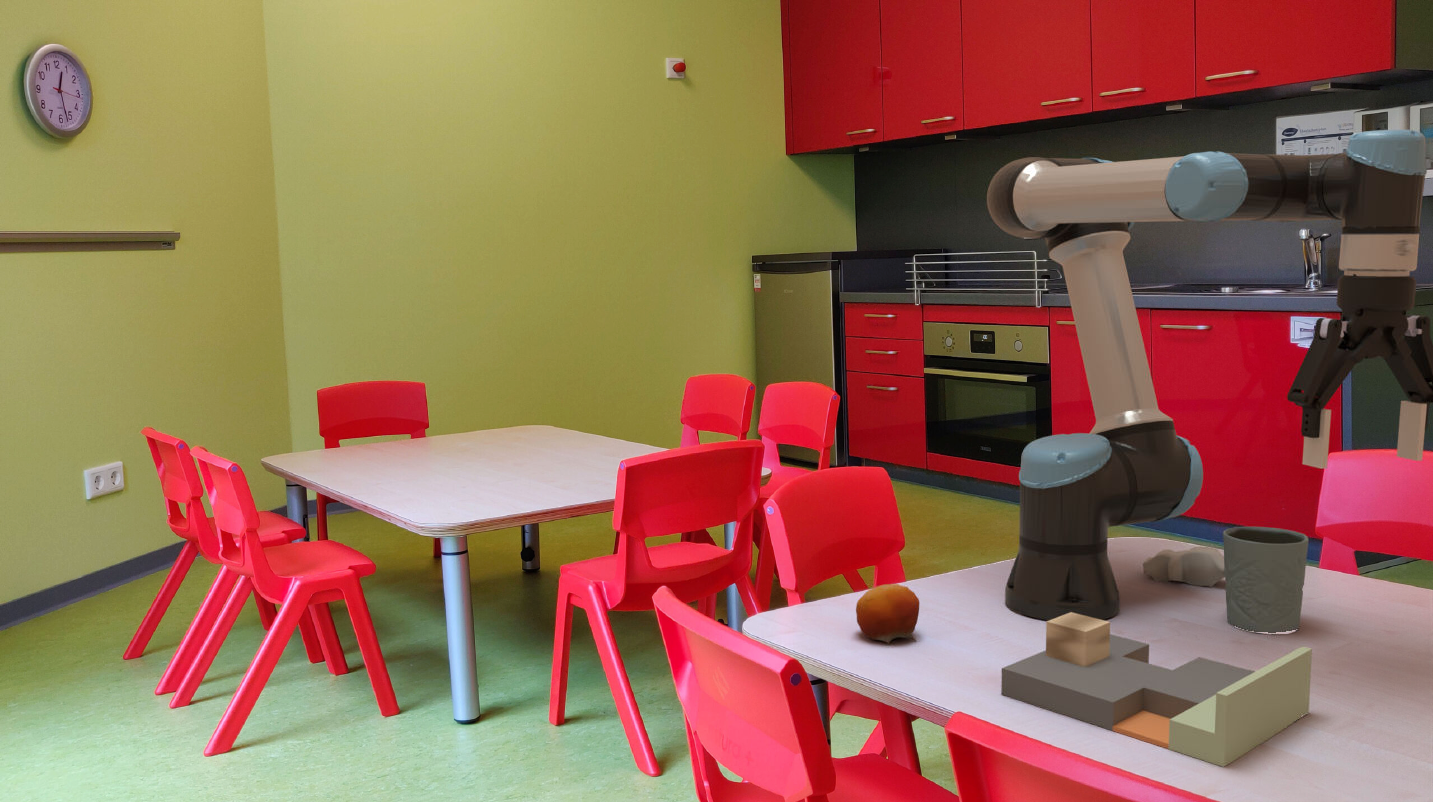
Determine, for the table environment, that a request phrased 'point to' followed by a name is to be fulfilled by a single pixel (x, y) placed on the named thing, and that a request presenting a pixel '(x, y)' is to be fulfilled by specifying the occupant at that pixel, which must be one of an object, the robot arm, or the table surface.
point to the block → (1077, 639)
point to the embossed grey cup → (1264, 577)
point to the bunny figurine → (1187, 566)
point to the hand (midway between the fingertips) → (1362, 462)
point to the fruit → (888, 612)
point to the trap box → (1170, 697)
